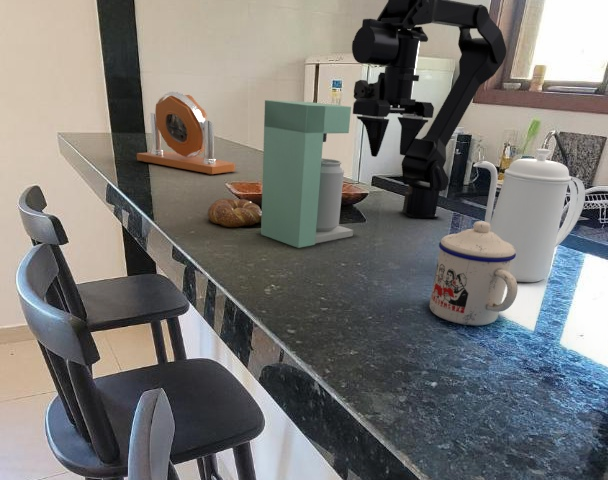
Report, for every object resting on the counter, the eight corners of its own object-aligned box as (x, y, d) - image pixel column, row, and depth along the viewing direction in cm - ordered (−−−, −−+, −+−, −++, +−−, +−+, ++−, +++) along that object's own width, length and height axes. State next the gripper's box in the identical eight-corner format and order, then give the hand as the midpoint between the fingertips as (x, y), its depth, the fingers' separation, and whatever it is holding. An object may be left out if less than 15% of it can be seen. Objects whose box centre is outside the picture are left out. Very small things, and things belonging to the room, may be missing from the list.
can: (324, 235, 94) (330, 164, 89) (290, 227, 98) (294, 158, 92) (345, 228, 100) (352, 160, 94) (312, 220, 103) (317, 155, 98)
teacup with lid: (413, 303, 70) (428, 215, 65) (467, 297, 74) (486, 212, 69) (472, 341, 61) (497, 241, 55) (531, 332, 64) (559, 237, 59)
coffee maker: (317, 225, 105) (326, 102, 95) (354, 236, 99) (369, 107, 89) (260, 234, 96) (264, 100, 86) (298, 248, 90) (307, 105, 80)
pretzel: (252, 231, 98) (253, 211, 96) (196, 224, 99) (196, 204, 98) (269, 218, 108) (270, 199, 106) (218, 212, 110) (218, 193, 108)
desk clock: (210, 176, 148) (209, 95, 138) (135, 161, 161) (130, 87, 152) (238, 172, 157) (239, 96, 148) (165, 158, 171) (161, 88, 161)
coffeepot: (427, 269, 84) (450, 142, 76) (536, 257, 95) (567, 145, 86) (475, 292, 76) (508, 153, 67) (589, 276, 87) (629, 154, 78)
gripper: (396, 69, 111) (386, 149, 118) (335, 62, 99) (328, 151, 106) (441, 71, 104) (427, 156, 111) (382, 64, 92) (370, 159, 99)
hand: (388, 155), depth 107 cm, fingers open, 9 cm apart
